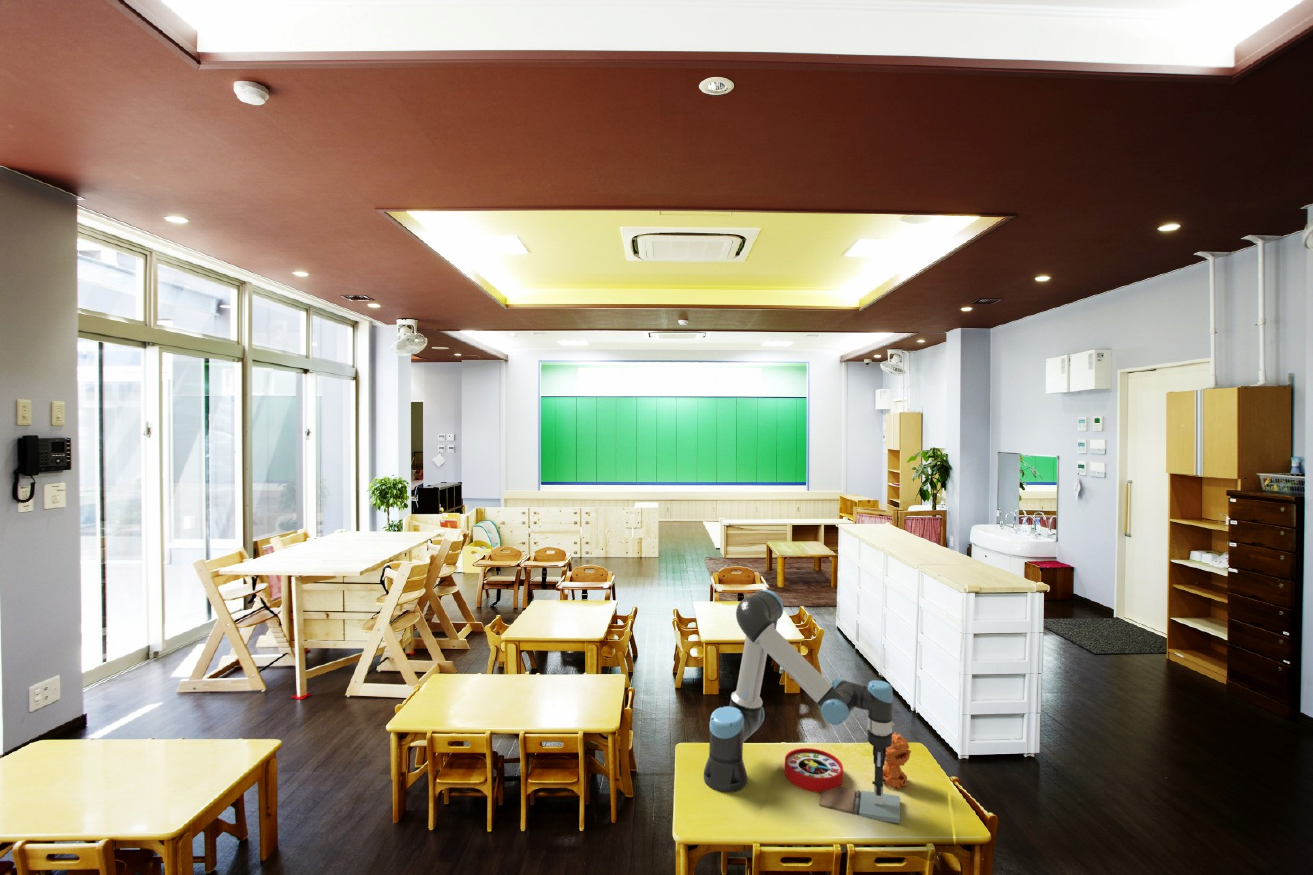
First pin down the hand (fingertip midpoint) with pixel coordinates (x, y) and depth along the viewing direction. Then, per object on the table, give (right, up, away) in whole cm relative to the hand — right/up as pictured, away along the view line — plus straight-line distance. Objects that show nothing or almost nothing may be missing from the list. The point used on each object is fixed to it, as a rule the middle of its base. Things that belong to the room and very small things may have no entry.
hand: (878, 802), depth 202 cm
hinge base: (-12, -2, +5) cm, 13 cm away
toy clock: (-17, -3, +18) cm, 25 cm away
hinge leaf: (0, -2, 0) cm, 2 cm away
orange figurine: (+11, -3, +15) cm, 19 cm away
